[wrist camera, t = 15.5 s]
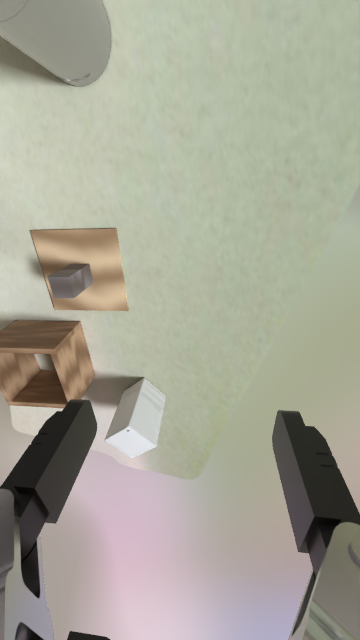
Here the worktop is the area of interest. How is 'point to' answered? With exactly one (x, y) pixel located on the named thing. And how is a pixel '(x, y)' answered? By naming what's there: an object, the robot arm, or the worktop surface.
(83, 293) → the lid
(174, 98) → the worktop surface
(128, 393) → the supplement box
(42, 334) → the box
